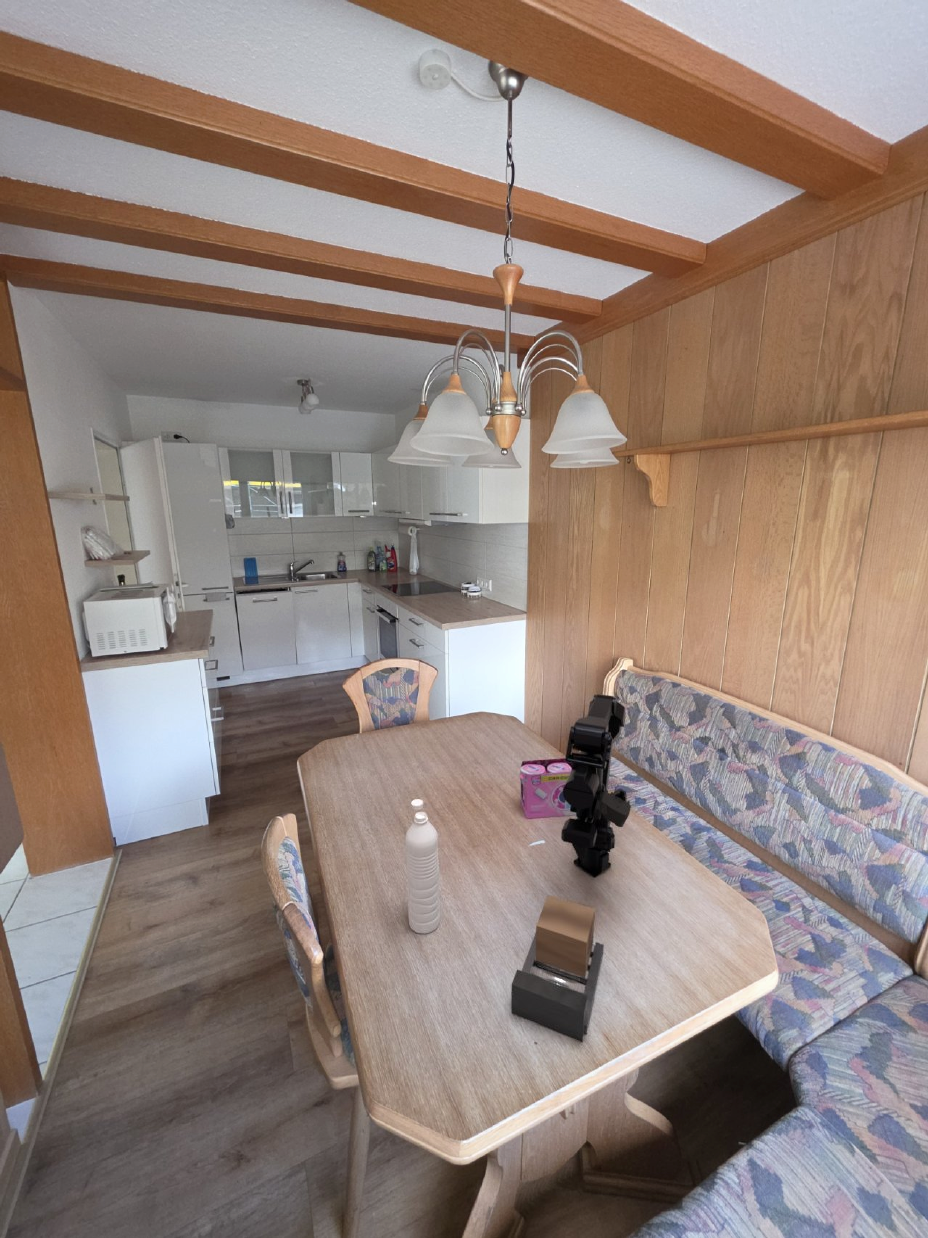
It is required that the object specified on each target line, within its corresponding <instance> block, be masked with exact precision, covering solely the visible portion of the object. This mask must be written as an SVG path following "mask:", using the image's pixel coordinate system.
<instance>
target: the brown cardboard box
mask: <svg viewBox="0 0 928 1238" xmlns="http://www.w3.org/2000/svg"><path fill="white" fill-rule="evenodd" d="M595 917H596V908H595V909H594V908H592V907H590V906H586V905H582V904H579V903H576V902H572V901H569V900H566V899H564V898H563V899H562V898H559V897H556V896H553V895H551V894H547V896H546V898H545V902H544V905H543V907H542V910H541V913H540V914H539V918H538V919H537V920H538V921H537V922H536V926H535V933H536V959H535V960H537V961H540V962H543V963H545V964H548V965H551V966H554V967H556V968H559V969H562V970H565V971H567V972H570V973H573V974H576V975H578V976H581V977H584V978H585V976H586V971H587V970H588V969H587V967H588V963H589V958H590V957H591V956H590V954H591V950H592V946H593V944H594V932H595Z"/></svg>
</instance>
